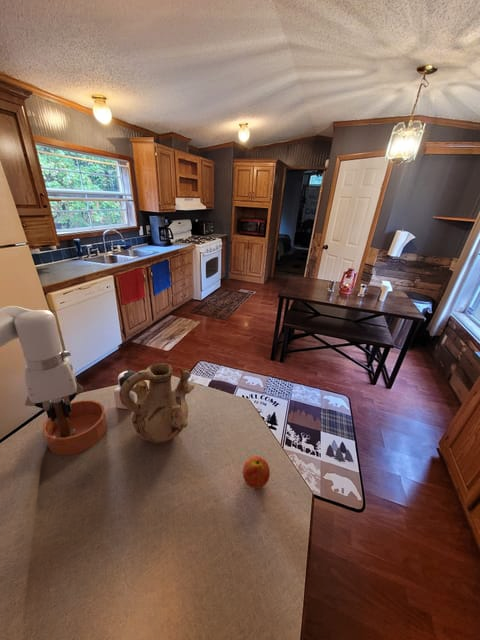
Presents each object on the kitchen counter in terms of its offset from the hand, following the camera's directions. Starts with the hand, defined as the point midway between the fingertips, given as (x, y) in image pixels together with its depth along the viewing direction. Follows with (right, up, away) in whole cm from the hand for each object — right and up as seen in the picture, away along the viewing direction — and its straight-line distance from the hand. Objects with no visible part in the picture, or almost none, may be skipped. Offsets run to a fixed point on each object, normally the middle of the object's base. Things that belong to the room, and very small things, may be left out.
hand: (60, 415), depth 70 cm
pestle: (0, -8, +3) cm, 9 cm away
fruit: (+54, -16, -3) cm, 56 cm away
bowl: (+1, -8, +6) cm, 10 cm away
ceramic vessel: (+27, -9, +9) cm, 29 cm away
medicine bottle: (+11, -3, +20) cm, 23 cm away
